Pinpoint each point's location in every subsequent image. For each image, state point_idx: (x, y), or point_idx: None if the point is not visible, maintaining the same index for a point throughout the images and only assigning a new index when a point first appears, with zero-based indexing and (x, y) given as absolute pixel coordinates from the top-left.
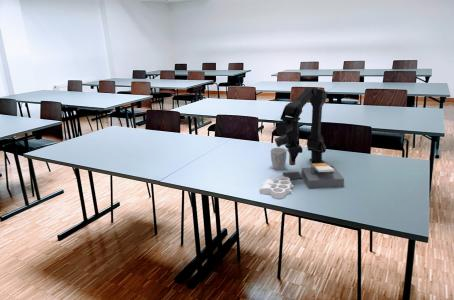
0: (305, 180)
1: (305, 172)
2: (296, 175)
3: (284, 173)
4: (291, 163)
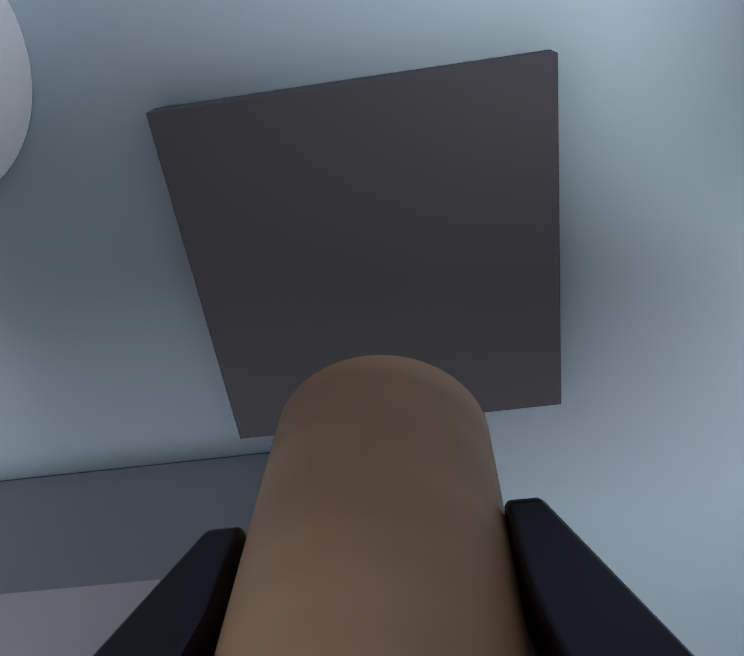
0: (104, 491)
1: None
2: None
3: (497, 96)
4: (268, 461)
